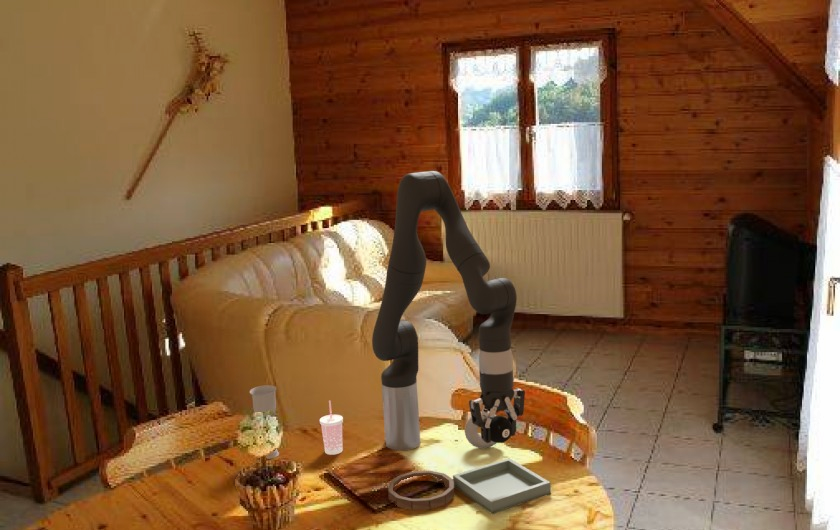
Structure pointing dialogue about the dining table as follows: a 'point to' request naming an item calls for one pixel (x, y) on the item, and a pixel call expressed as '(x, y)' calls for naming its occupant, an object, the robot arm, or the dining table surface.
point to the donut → (475, 435)
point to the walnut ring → (423, 502)
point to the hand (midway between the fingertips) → (499, 438)
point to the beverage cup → (332, 432)
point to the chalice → (264, 404)
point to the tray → (501, 485)
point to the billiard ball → (500, 429)
